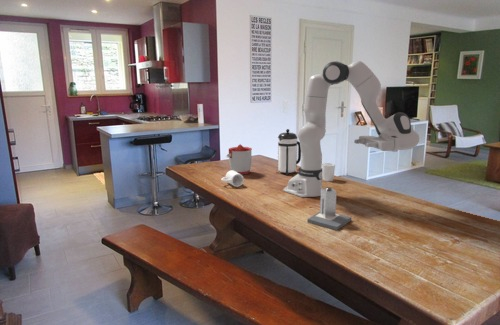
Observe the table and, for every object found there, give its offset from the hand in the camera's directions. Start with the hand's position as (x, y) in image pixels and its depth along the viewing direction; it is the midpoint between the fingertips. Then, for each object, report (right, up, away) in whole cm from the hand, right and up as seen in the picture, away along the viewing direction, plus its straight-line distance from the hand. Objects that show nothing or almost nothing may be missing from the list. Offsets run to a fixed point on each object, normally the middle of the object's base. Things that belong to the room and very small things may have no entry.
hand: (360, 143), depth 161 cm
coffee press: (-26, -16, +75) cm, 81 cm away
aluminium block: (-17, -33, -6) cm, 37 cm away
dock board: (-17, -35, -9) cm, 40 cm away
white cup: (-3, -20, +56) cm, 60 cm away
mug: (-63, -23, +47) cm, 82 cm away
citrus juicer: (-59, -17, +74) cm, 96 cm away
